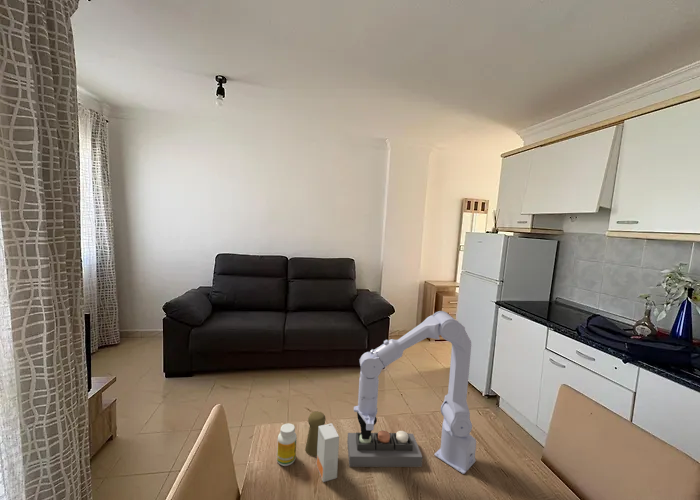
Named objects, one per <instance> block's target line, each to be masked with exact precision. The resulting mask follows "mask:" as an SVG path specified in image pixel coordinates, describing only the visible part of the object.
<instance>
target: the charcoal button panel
mask: <svg viewBox="0 0 700 500" xmlns="http://www.w3.org/2000/svg"><path fill="white" fill-rule="evenodd" d="M396 433H397V432H392V433H391V432H389V434H390V442H389V443H387V444H383V443H380V442H379V441H378V432H371V435H370V436H371V443H359V437H360V435H361V432H347V439H346V440H347V441H346V443H347V453H348V467H350V468H352V467H354V468H357V467H358V468H359V467H360V468H361V467H362V468H363V467H364V468H365V467H366V468H367V467H368V468H369V467H370V468H371V467H373V468H374V467H375V468H376V467H377V468H378V467H379V468H380V467H381V468H383V467H385V468H395V467H397V468H401V467H402V468H403V467H404V468H421V467H422V468H423V455H422V452H421V449H420V448H419V447H420V446H419V445H418V443H417V440H416V437H415V436H414V435H415V434H414V433H409V432H406V433H407V434H408V442H407V443H406V444H401V443H399V442H397V440H396Z"/></svg>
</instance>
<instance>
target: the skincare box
mask: <svg viewBox="0 0 700 500" xmlns="http://www.w3.org/2000/svg"><path fill="white" fill-rule="evenodd" d="M339 445H340V436H339V434H338V432H337V429H336V427H335V425H333V423H332V422H331V423H328V424H326V423H325V424H324V425H321V426H318V445H317V456H316V465H315V466H316V468H317V471H318V473H319V475H320V477H321V479H320V480H322V483H325V482H328V481H332V480H335V479H337V478H338V466H339V465H338V463H339V450H340V449H339V448H340V447H339Z"/></svg>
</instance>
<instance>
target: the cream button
mask: <svg viewBox="0 0 700 500" xmlns="http://www.w3.org/2000/svg"><path fill="white" fill-rule="evenodd" d="M395 433H396V440H397V442H399V443H401V444H406V443H407V442H408V434H409V433H408V432H406V431H404V430H398V431H397V432H395ZM407 433H408V434H407Z"/></svg>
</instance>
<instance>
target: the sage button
mask: <svg viewBox="0 0 700 500" xmlns="http://www.w3.org/2000/svg"><path fill="white" fill-rule="evenodd" d="M359 443H371V436H370V438H369V439H362V435H360V437H359Z"/></svg>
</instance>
